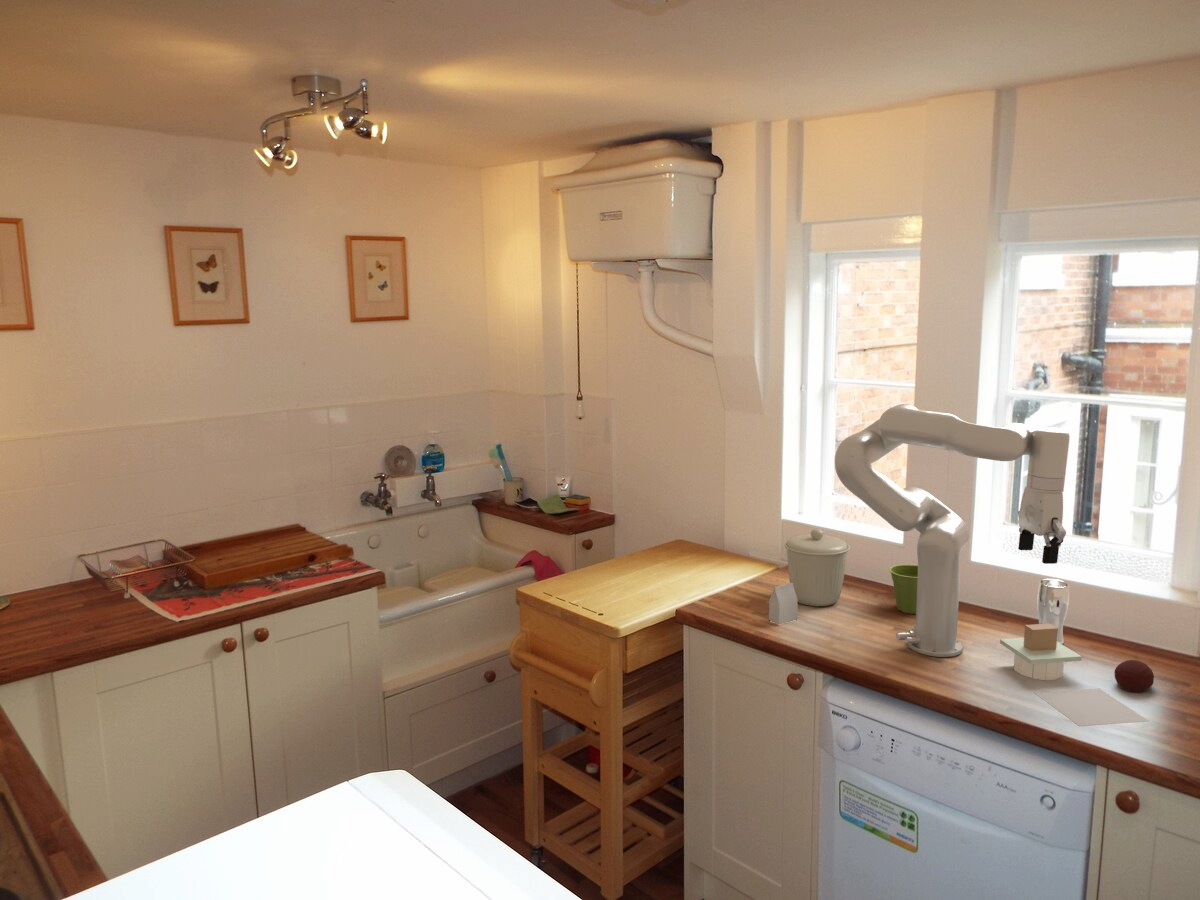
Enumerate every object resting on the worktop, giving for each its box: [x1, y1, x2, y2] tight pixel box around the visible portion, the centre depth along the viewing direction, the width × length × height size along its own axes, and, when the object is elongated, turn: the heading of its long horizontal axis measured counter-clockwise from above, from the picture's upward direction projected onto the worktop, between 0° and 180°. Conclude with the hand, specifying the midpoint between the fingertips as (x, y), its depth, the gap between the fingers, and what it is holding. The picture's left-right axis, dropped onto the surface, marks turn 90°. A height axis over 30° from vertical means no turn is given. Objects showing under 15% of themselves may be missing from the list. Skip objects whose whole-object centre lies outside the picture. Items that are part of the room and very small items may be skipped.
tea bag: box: [768, 582, 798, 624], centre depth 234 cm, size 4×7×10 cm, turn 124°
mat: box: [1034, 688, 1149, 727], centre depth 183 cm, size 15×15×1 cm
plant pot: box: [888, 564, 918, 615], centre depth 241 cm, size 12×12×11 cm
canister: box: [783, 528, 851, 607], centre depth 248 cm, size 18×18×21 cm
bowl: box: [1013, 653, 1065, 681], centre depth 200 cm, size 10×10×5 cm
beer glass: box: [1036, 578, 1070, 645], centre depth 218 cm, size 7×7×15 cm
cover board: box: [999, 623, 1083, 664], centre depth 199 cm, size 12×12×6 cm
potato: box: [1114, 659, 1155, 693], centre depth 192 cm, size 7×10×6 cm
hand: (1037, 556), depth 200 cm, fingers open, 9 cm apart
